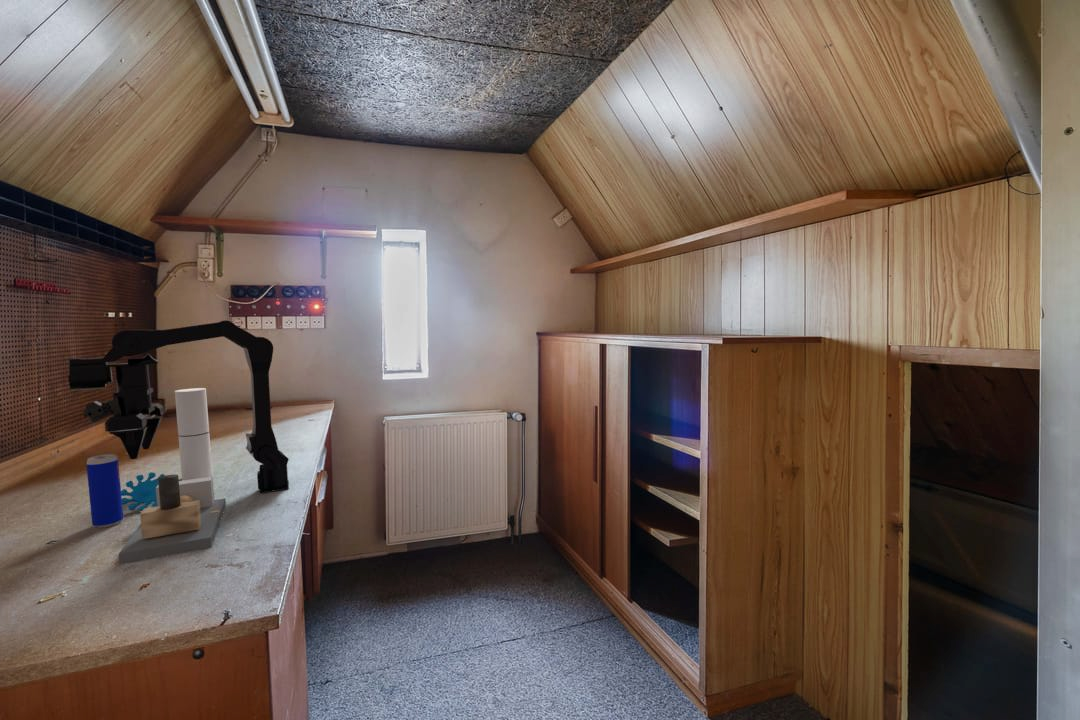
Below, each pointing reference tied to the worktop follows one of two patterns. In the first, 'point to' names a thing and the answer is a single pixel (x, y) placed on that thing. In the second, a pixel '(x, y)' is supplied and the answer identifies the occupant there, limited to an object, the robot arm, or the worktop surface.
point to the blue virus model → (141, 492)
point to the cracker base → (185, 540)
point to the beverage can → (104, 490)
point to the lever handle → (170, 512)
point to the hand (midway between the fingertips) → (140, 453)
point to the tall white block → (193, 433)
